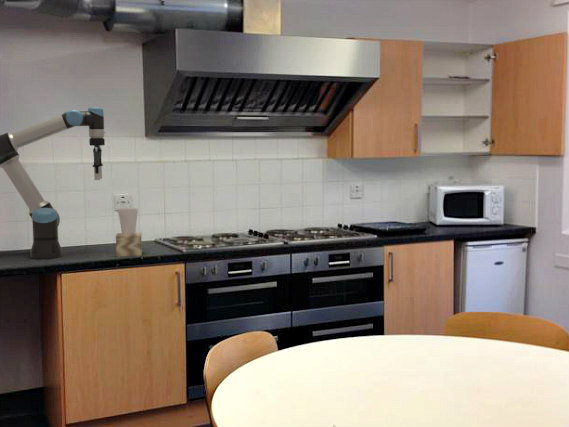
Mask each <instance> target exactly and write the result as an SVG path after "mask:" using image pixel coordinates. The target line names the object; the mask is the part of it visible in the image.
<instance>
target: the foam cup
mask: <svg viewBox="0 0 569 427" xmlns="http://www.w3.org/2000/svg"><path fill="white" fill-rule="evenodd" d="M138 208H139V207H133V206H132V207H131V206H130V207H119V208H118V209H117V214H118V217H119V218H118V219H119V223H120V229H121V230H120V231H121V233H122V235H135V233H137V232H136V230H137V221H138V220H137V219H138V213H139V212H138V211H139V209H138Z"/></svg>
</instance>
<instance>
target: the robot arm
mask: <svg viewBox="0 0 569 427" xmlns="http://www.w3.org/2000/svg"><path fill="white" fill-rule="evenodd" d="M104 115H105V113H104V108H103V107H101V106H100V107H97V106H96V107H95V106H93V107H92V106H89V107H88V109H87V110H86V111H85V110H83V111H81V110H77V109H72V110H69V111H68V110H66V111H64V112H63V114H60V115H56V116H54V117H51V118H49V119H47V120H43V121H40V122H38V123H36V124H33V125H30V126H28V127H24V128H23V129H20V130H17V131H15V132H9V131H8V132H6V133H3V134H0V168H1V169H3V171H4V172H5V173H6V176H7V177H8V178H9V180H10V181H11V183H12V184H13V186H14V188H15V189H16V191H17V192H18V194H19V195H20V197H21V198H22V200H23V202H24V204H25V205H26V206H27V207H28V209H29V210H28V215H29V217H30V218H31V221H32V245H31V249H30V251H29V252H30V253H29V258H30V259H36V260H37V259H39V260H44V259H45V260H47V259H57V258H60V257H63V248H62V247H61V244H60V241H59V230H58V229H59V225H60V222H61V218H60V214H59V213H58V211H57V210H56V208H54V207H53V206H52V204H51V203H50V201H49V200H45V199H44V197H43V196H42V194H41V193H40V191H39V189H38V187H37V186H36V185H35V183H34V181H33V180H32V178H31V177H30V175H29V174H28V172H27V170H26V169H25V167H24V166H23V164H22V163H21V161H20V160H19V159H20V154H19V152H18V149H20V148H22V147H25V146H27V145H30V144H32V143H34V142H37V141H40V140H42V139H43V140H44V139H45V138H48V137H50V136H53V135H56V134H59V133H61V132H63V131H66V130H69V129H72V128H75V127H88V137H89V146H93V149H92V153H93V165H92V168H93V169H94V170H93V172H94V174H93V177H94V181H101V179H102V180H103V170H102V169H103V168H102V167H103V166H104V164H103V163H102V146H105V144H106V143H105V140H106V139H105V134H106V131H105V116H104Z"/></svg>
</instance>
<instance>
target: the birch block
mask: <svg viewBox="0 0 569 427" xmlns="http://www.w3.org/2000/svg"><path fill="white" fill-rule="evenodd" d="M142 242H143V239H142V232H135V235H122V232H120V233H119V232H117V233H116V235H115V249H116V250H115V251H116V253H115V255H116V257H117V258H118V257H120V258H121V257H139V256H140V257H141V256H142V254H143V246H142V245H143V244H142Z"/></svg>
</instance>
